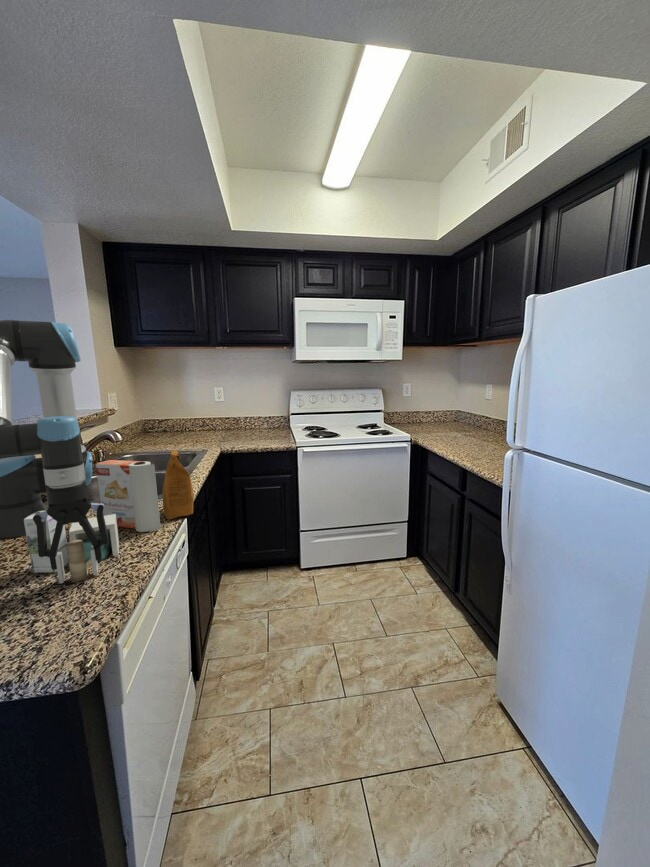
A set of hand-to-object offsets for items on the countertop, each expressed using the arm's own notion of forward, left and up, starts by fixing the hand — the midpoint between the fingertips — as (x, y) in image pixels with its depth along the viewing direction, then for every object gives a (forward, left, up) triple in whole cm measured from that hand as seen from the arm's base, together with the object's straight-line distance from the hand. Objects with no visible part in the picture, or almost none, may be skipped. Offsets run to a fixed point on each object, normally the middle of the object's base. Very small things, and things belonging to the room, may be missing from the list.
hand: (79, 576), depth 86 cm
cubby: (-12, +3, 0) cm, 12 cm away
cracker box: (-30, +10, 0) cm, 32 cm away
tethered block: (-6, +1, 0) cm, 6 cm away
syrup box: (-9, -7, -1) cm, 12 cm away
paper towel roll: (-23, +15, -1) cm, 27 cm away
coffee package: (-32, +26, -1) cm, 41 cm away
